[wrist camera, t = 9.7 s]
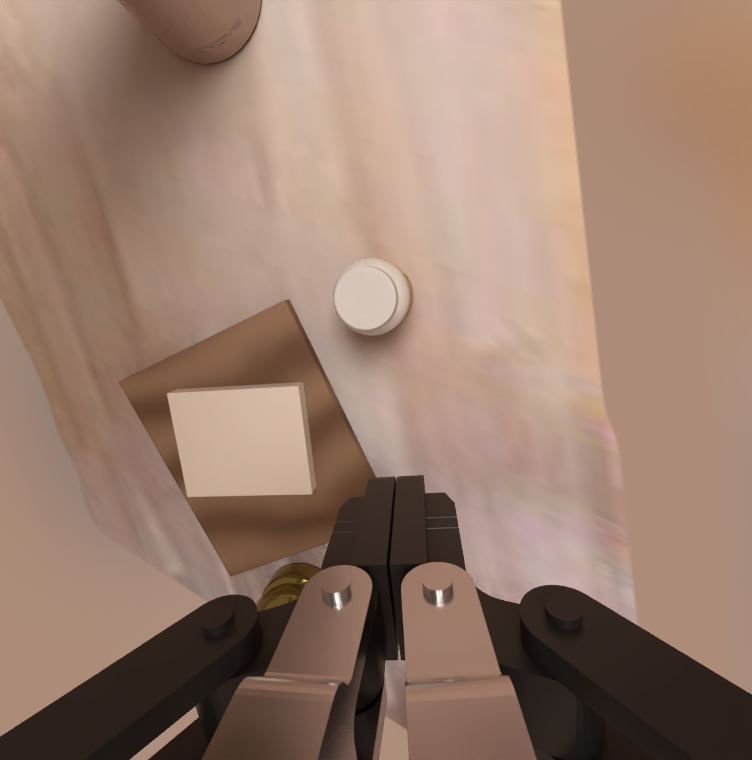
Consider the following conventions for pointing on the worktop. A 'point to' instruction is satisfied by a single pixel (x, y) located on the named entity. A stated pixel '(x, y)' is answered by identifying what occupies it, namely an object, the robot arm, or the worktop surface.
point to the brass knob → (286, 585)
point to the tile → (243, 440)
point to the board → (326, 425)
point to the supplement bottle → (372, 296)
